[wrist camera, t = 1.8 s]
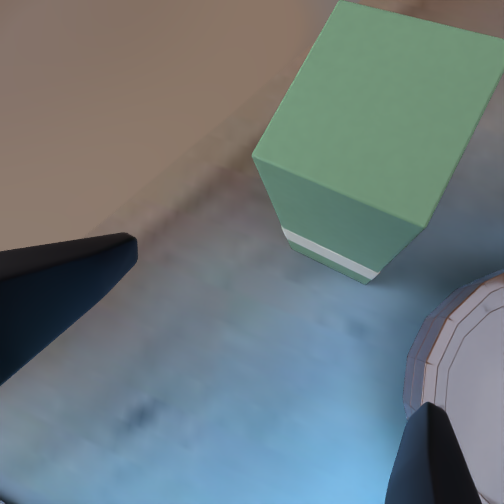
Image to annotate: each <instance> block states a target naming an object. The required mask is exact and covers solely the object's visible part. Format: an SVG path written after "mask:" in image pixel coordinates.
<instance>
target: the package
mask: <svg viewBox="0 0 504 504" xmlns="http://www.w3.org/2000/svg"><path fill="white" fill-rule="evenodd" d="M503 73H504V39H501V38H497V37H493V36H489V35H485V34H481V33H477V32H472V31H468V30H464V29H460V28H456V27H452V26H448V25H443V24H439V23H435V22H431V21H427V20H423V19H419V18H414V17H410V16H406V15H402V14H398V13H394V12H390V11H385V10H381V9H377V8H373V7H369V6H365V5H361V4H356V3H352V2H348V1H344V0H339V1H338V3H337V5H336V7H335V8H334V10H333V12H332V13H331V15H330V17H329V19H328V21H327V22H326V24H325V26H324V28H323V30H322V31H321V33H320V35H319V36H318V38H317V40H316V42H315V44H314V45H313V47H312V49H311V51H310V52H309V54H308V56H307V58H306V59H305V61H304V63H303V65H302V67H301V68H300V70H299V72H298V74H297V75H296V77H295V79H294V81H293V82H292V84H291V86H290V88H289V90H288V91H287V93H286V95H285V97H284V98H283V100H282V102H281V104H280V105H279V107H278V109H277V111H276V113H275V114H274V116H273V118H272V120H271V121H270V123H269V125H268V127H267V128H266V130H265V132H264V134H263V136H262V137H261V139H260V141H259V143H258V144H257V146H256V148H255V150H254V151H253V153H252V158H253V160H254V162H255V165H256V167H257V169H258V172H259V174H260V176H261V179H262V181H263V183H264V186H265V188H266V190H267V193H268V195H269V197H270V200H271V202H272V204H273V207H274V209H275V211H276V214H277V216H278V218H279V221H280V223H281V225H282V227H281V228H282V230H283V232H284V234H285V237H286V238H287V239H288V242H289V244H290V246H291V248H292V249H293V250H295V251H297V252H299V253H301V254H303V255H305V256H308V257H310V258H312V259H314V260H316V261H318V262H320V263H322V264H324V265H326V266H328V267H330V268H332V269H334V270H336V271H338V272H340V273H342V274H344V275H346V276H348V277H350V278H352V279H354V280H356V281H358V282H360V283H362V284H364V285H366V284H368V283H369V282H370V281H371V280H373V279H374V278H375V277H376V276H377V275H378V274H379V273H380V272H381V270H382V269H383V268H384V267H385V266H386V265H387V264H388V263H389V262H391V261H392V260H393V259H394V258H395V257H396V256H397V255H398V254H399V253H400V252H401V251H402V250H403V249H404V248H405V247H406V246H407V245H408V244H409V243H410V242H411V241H412V240H413V239H414V238H415V237H417V236H418V235H419V234H420V233H421V232H422V231H423V230H424V229H425V228H426V227H427V225H428V223H429V221H430V219H431V217H432V215H433V213H434V211H435V209H436V207H437V205H438V203H439V201H440V199H441V197H442V195H443V193H444V191H445V189H446V187H447V185H448V183H449V181H450V179H451V177H452V175H453V173H454V171H455V169H456V167H457V165H458V163H459V161H460V159H461V157H462V155H463V153H464V151H465V149H466V147H467V145H468V143H469V141H470V139H471V137H472V135H473V133H474V131H475V129H476V127H477V125H478V123H479V121H480V119H481V117H482V115H483V113H484V111H485V109H486V107H487V105H488V103H489V101H490V99H491V97H492V95H493V93H494V91H495V89H496V87H497V85H498V83H499V81H500V79H501V77H502V75H503Z"/></svg>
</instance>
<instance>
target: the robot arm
mask: <svg viewBox="0 0 504 504" xmlns="http://www.w3.org/2000/svg"><path fill="white" fill-rule="evenodd" d="M137 259H138V247H137V239H136V238H135V237H133V236H132V235H130V234H128V233H125V232H123V233H116V234H110V235H103V236H97V237H90V238H84V239H78V240H71V241H65V242H58V243H52V244H45V245H39V246H32V247H26V248H20V249H13V250H7V251H0V386H1V385H2V384H3V383H4V382H6V381H7V380H8V379H9V378H10V377H11V376H13V375H14V374H15V373H16V372H17V371H18V370H20V369H21V368H22V367H23V366H24V365H25V364H27V363H28V362H29V361H30V360H31V359H32V358H34V357H35V356H36V355H37V354H38V353H39V352H41V351H42V350H43V349H44V348H45V347H46V346H48V345H49V344H50V343H51V342H52V341H53V340H55V339H56V338H57V337H58V336H59V335H60V334H62V333H63V332H64V331H65V330H66V329H67V328H69V327H70V326H71V325H72V324H73V323H74V322H76V321H77V320H78V319H79V318H80V317H81V316H83V315H84V314H85V313H86V312H87V311H88V310H90V309H91V308H92V307H93V306H94V305H95V304H97V303H98V302H99V301H100V300H101V299H102V298H103V297H104V296H105V295H106V294H107V293H108V292H109V291H110V290H111V289H112V288H113V287H114V286H115V285H116V284H117V283H118V282H119V281H120V280H121V279H122V278H123V276H124V275H125V274H126V273H127V272H128V271H129V270H130V269H131V268H132V267H133V266H134V265H135V263H136V262H137ZM385 504H482V502H481V499H480V497H479V494H478V492H477V489H476V487H475V484H474V481H473V479H472V476H471V474H470V471H469V469H468V466H467V464H466V461H465V458H464V456H463V453H462V451H461V448H460V446H459V443H458V440H457V438H456V435H455V433H454V430H453V428H452V425H451V422H450V420H449V417H448V415H447V413H446V412H445V410H443V409H442V408H440V407H438V406H436V405H435V404H433V403H431V402H425V403H424V404H423V405H422V406H421V407H420V408H419V409H418V410H417V411H416V412H415V413H414V414H412V415H411V417H410V418H409V419H408V421H407V424H406V427H405V430H404V433H403V436H402V440H401V443H400V446H399V450H398V453H397V456H396V460H395V463H394V466H393V469H392V473H391V476H390V480H389V483H388V488H387V493H386V499H385Z"/></svg>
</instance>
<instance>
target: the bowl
mask: <svg viewBox="0 0 504 504" xmlns="http://www.w3.org/2000/svg"><path fill="white" fill-rule="evenodd" d="M425 402H431V403H433V404H435V405H436V406H438V407H440V408H442V409H443V410H445V412H446V413H447V415H448V417H449V420H450V422H451V425H452V428H453V430H454V433H455V435H456V438H457V440H458V443H459V446H460V448H461V451H462V453H463V456H464V458H465V461H466V464H467V466H468V469H469V471H470V474H471V476H472V479H473V481H474V484H475V487H476V489H477V492H478V494H479V497H480V499H481V502H482V504H504V269H501V270H498V271H495V272H492V273H490V274H488V275H486V276H484V277H482V278H479V279H477V280H475V281H473V282H471V283H469V284H466V285H464V286H462V287H460V288H458V289H456V290H455V291H453V292H452V293H451V294H450V295H449V296H448V297H447V298H446V299H445V300H444V301H443V302H442V303H441V304H440V305H439V306H438V307H437V308H436V309H435V310H434V311H433V312H432V313H430V314H429V315H428V316H427V317H426V319H425V320H424V322H423V324H422V326H421V328H420V330H419V333H418V335H417V337H416V339H415V341H414V343H413V345H412V347H411V349H410V351H409V353H408V356H407V363H406V372H405V381H404V390H403V403H404V408H405V413H406V418H407V421H408V419H409V418H410V417H411V415H412V414H414V413H415V412H416V411H417V410H418V409H419V408H420V407H421V406H422V405H423V404H424V403H425Z"/></svg>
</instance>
